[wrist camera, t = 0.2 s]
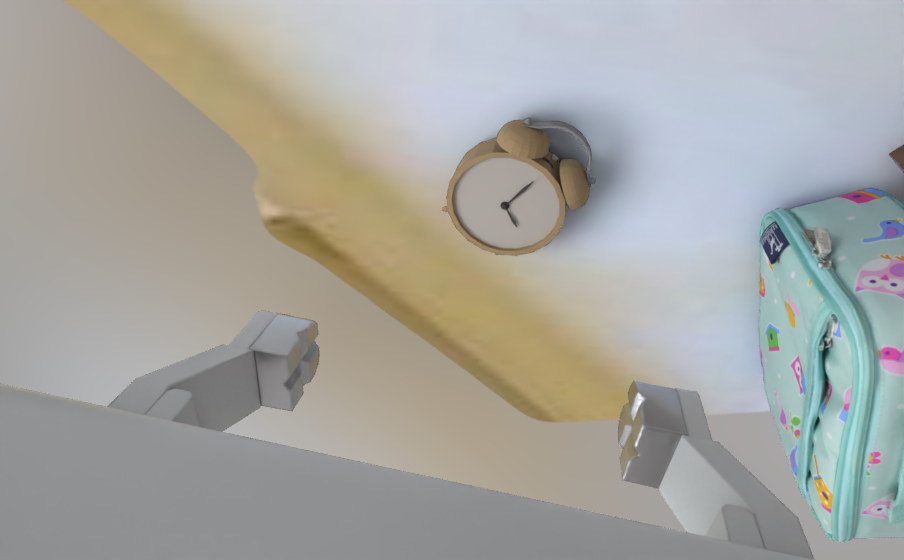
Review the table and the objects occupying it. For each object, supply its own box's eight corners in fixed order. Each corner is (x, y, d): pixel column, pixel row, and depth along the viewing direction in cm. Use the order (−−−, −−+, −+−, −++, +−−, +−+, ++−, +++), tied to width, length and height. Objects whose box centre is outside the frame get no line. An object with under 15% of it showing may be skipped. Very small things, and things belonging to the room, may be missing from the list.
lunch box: (746, 178, 49) (826, 342, 32) (885, 152, 45) (1058, 321, 28) (755, 388, 63) (815, 579, 46) (863, 381, 59) (970, 585, 42)
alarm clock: (421, 206, 54) (524, 105, 43) (438, 178, 57) (537, 78, 47) (506, 275, 57) (622, 196, 46) (517, 244, 60) (627, 164, 49)
